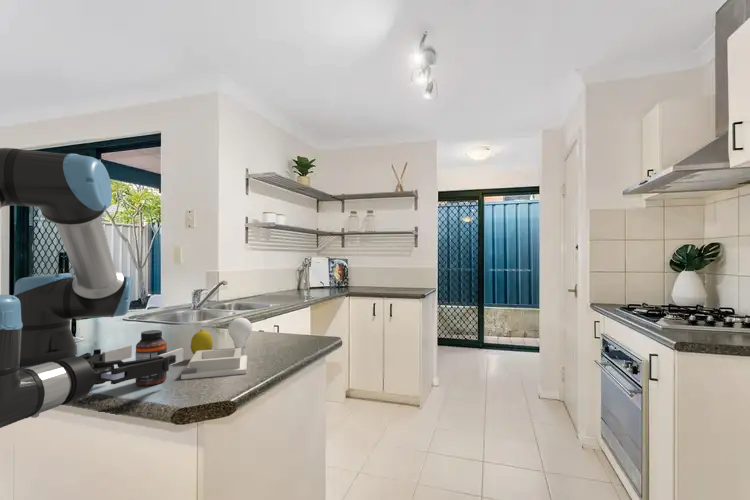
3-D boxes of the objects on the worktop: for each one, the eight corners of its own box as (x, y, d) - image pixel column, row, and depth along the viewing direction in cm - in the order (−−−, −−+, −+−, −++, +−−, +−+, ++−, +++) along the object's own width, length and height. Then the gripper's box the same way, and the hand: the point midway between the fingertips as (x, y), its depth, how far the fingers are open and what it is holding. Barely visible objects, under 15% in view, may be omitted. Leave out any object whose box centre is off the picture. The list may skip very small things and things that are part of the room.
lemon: (195, 356, 103) (195, 328, 103) (215, 355, 103) (215, 327, 103) (186, 361, 97) (187, 331, 97) (208, 361, 98) (208, 331, 98)
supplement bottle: (152, 376, 84) (153, 328, 85) (172, 379, 82) (173, 329, 83) (128, 385, 79) (129, 332, 79) (148, 388, 77) (150, 334, 77)
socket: (191, 363, 96) (191, 349, 96) (247, 358, 100) (247, 346, 100) (181, 379, 82) (181, 364, 82) (246, 373, 87) (246, 358, 87)
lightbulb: (243, 360, 99) (244, 319, 99) (222, 358, 100) (223, 319, 100) (255, 354, 105) (256, 316, 105) (236, 353, 106) (236, 315, 106)
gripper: (-3, 400, 63) (109, 366, 84) (116, 412, 58) (204, 373, 79) (-2, 357, 63) (110, 333, 84) (117, 365, 58) (204, 338, 79)
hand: (155, 352), depth 82 cm, fingers open, 13 cm apart
